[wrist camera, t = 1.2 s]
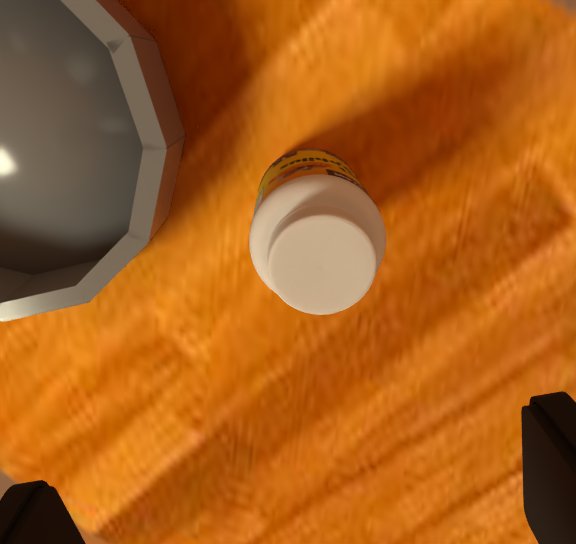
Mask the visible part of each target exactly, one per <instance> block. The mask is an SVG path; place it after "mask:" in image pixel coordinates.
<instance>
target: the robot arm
mask: <svg viewBox="0 0 576 544" xmlns="http://www.w3.org/2000/svg"><path fill="white" fill-rule="evenodd" d="M521 414H522V456H523V497H524V511H525V515H526V518H527V521H528V524H529V526H530V528H531V530H532V532H533V534H534V535H535V537H536V539H537V541H538V543H539V544H576V403H575V401H574V400H573V399H572V398H571V397H570V396H569V395H568V394H567V393H566V392H563V391H562V392H556V393H550V394H544V395H538V396H533V397H531V399H530V404H529V405H528V406H523V407H522V412H521ZM0 544H85V542H84V540H83V538H82V536H81V534H80V532H79V531H78V529H77V527H76V525H75V523H74V521H73V520H72V518H71V516H70V514H69V512H68V510H67V509H66V507H65V505H64V503H63V501H62V499H61V498H60V496H59V494H58V492H57V490H56V489H55V488H54V487H52V486H49V485H48V484H47V482H45V481H43V480H39V481H33V482H27V483H21V484H15V485H13V486H11V487H10V488H9V489H8V490H7V491H6V492H5V494H4V496H3V497H2V498H1V500H0Z"/></svg>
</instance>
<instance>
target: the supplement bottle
mask: <svg viewBox="0 0 576 544" xmlns="http://www.w3.org/2000/svg"><path fill="white" fill-rule="evenodd" d="M249 245H250V253H251V258H252V261H253V264H254V267H255V269H256V271H257V273H258V274H259V276H260V277H261V279H262V280H263V281H264V283H265V284H266V285H267V286H268V287H269V288H270V289H271V290H272V291H274V292H275V293H276V294H278V295H279V297H280V298H281V299H282V300H283V301H284V302H286V303H287V304H288V305H290V306H291V307H293V308H295V309H297V310H299V311H302V312H305V313H310V314H317V315H323V314H332V313H336V312H339V311H343V310H345V309H347V308H349V307H350V306H352V305H354V304H355V303H356V302H358V301H359V300H360V299H361V298H362V297H363V296H364V295H365V294H366V292H367V291H368V289H369V288H370V286H371V284H372V282H373V280H374V277H375V274H376V272H377V270H378V268H379V266H380V264H381V262H382V259H383V256H384V252H385V245H386V234H385V227H384V223H383V220H382V217H381V215H380V212H379V210H378V208H377V206H376V205H375V203H374V201H373V200H372V199H371V197H370V196H369V195H368V193H367V192H366V190H365V188H364V187H363V186H362V184H361V183H360V181H359V180H358V178H357V177H356V176H355V174H354V172H353V171H352V170H351V168H350V167H349V166H348V165H347V164H346V163H345V162H344V161H343V160H342V159H340V158H339V157H337V156H336V155H334V154H332V153H330V152H327V151H324V150H321V149H313V148H307V149H299V150H295V151H292V152H289V153H287V154H285V155H283V156H282V157H280V158H279V159H277V160H276V161H275V162H274V163H273V164H272V165H271V166H270V167H269V168H268V170H267V171H266V173H265V174H264V176H263V178H262V180H261V183H260V186H259V189H258V195H257V199H256V205H255V209H254V214H253V219H252V224H251V229H250V240H249Z"/></svg>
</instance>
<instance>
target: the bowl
mask: <svg viewBox="0 0 576 544" xmlns="http://www.w3.org/2000/svg"><path fill="white" fill-rule="evenodd" d="M184 141H185V131H184V128H183V125H182V122H181V118H180V115H179V112H178V109H177V106H176V102H175V99H174V96H173V93H172V90H171V86H170V83H169V80H168V77H167V74H166V70H165V67H164V64H163V61H162V58H161V54H160V51H159V48H158V45H157V42H156V40H155V39H154V38H153V37H152V36H151V35H150V34H149V33H148V32H147V31H146V30H145V29H144V28H143V27H142V25H141V24H140V23H139V22H138V21H137V20H136V19H135V18H134V17H133V16H132V15H131V14H130V13H129V12H128V11H127V10H126V9H125V8H124V7H123V5H122V4H121V3H120V2H119V1H118V0H0V321H4V322H5V321H9V320H14V319H18V318H23V317H27V316H31V315H36V314H40V313H45V312H49V311H53V310H58V309H62V308H67V307H71V306H75V305H80V304H84V303H88V302H90V301H91V300H92V299H93V298H94V297H95V296H96V295H97V294H98V293H99V292H100V291H101V290H102V289H103V288H104V287H105V286H106V285H107V284H108V283H109V282H110V281H111V280H112V279H113V278H114V277H115V276H116V275H117V274H118V273H119V272H120V271H121V270H122V269H123V268H124V267H125V266H126V265H127V264H128V263H129V262H130V261H131V260H132V259H133V258H134V257H135V256H136V255H137V254H138V253H139V252H140V251H141V250H142V249H143V248H144V247H145V246H146V245H147V244H148V243H149V241H150V240H151V239H152V237H153V236H154V235H155V233H156V232H157V231H158V229H159V228H160V227H161V225H162V224H163V223H164V221H165V220H166V219H167V217H168V216H169V212H170V207H171V203H172V198H173V193H174V188H175V184H176V179H177V174H178V169H179V164H180V160H181V155H182V150H183V145H184Z"/></svg>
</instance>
